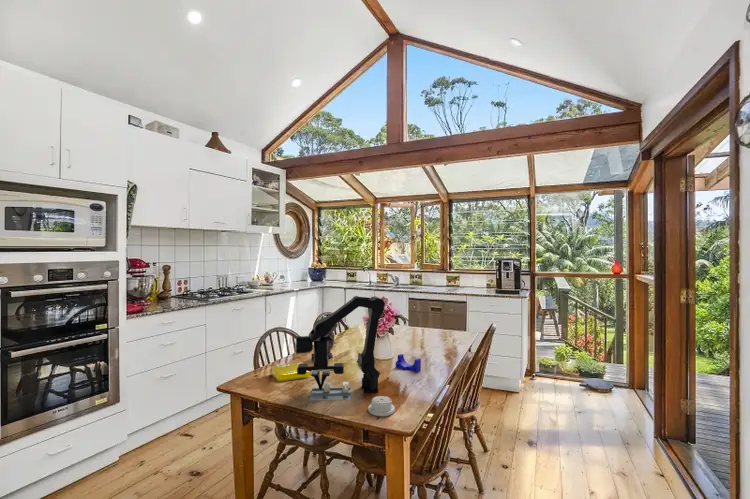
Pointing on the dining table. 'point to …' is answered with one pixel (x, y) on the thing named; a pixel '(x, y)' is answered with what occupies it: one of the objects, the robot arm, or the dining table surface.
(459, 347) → the dining table surface
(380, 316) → the robot arm
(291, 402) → the dining table surface
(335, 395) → the board
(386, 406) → the mechanical component
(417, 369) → the blue u-shaped bracket
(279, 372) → the element tile
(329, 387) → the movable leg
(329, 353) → the mortar and pestle
